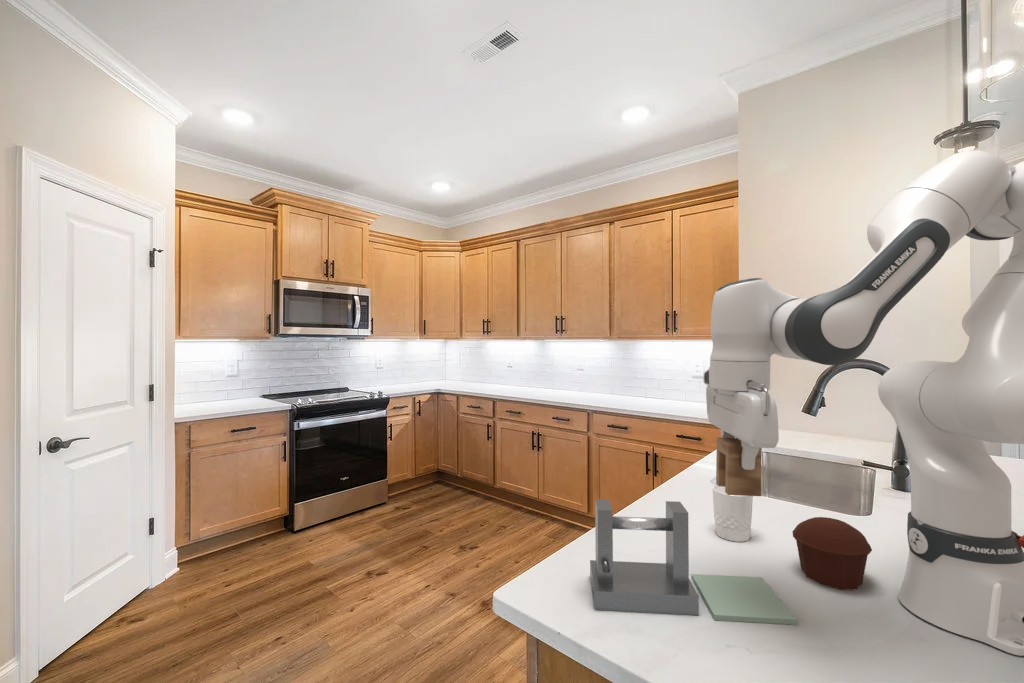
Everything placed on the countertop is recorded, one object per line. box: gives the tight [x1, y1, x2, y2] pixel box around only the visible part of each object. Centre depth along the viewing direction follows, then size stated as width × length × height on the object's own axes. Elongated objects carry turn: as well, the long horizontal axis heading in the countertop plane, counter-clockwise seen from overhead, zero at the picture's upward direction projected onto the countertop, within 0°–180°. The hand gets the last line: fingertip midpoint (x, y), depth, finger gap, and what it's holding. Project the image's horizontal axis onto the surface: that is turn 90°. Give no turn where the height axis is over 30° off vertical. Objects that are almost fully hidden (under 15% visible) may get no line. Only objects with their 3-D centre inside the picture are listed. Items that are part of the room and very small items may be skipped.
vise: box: [589, 498, 700, 616], centre depth 76 cm, size 16×10×15 cm, turn 84°
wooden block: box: [715, 436, 763, 497], centre depth 74 cm, size 5×5×8 cm
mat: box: [690, 573, 799, 626], centre depth 74 cm, size 12×12×1 cm
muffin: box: [792, 516, 873, 591], centre depth 81 cm, size 12×11×10 cm
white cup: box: [712, 484, 754, 543], centre depth 98 cm, size 8×8×10 cm
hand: (738, 462), depth 74 cm, fingers closed on wooden block, 5 cm apart
